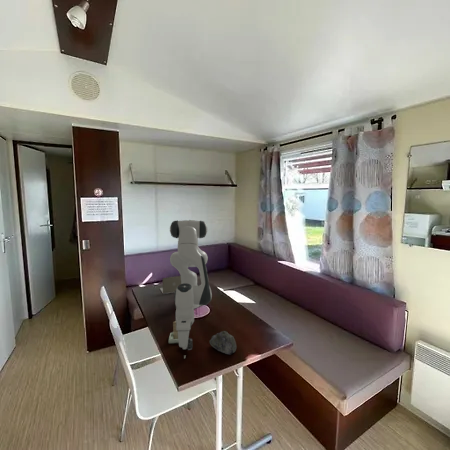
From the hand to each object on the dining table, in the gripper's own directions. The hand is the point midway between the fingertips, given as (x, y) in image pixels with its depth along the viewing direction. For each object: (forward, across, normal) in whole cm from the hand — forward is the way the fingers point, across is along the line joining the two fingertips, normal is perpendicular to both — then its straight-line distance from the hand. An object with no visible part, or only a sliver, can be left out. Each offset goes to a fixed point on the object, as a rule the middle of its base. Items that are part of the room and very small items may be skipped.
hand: (185, 344), depth 125 cm
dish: (+5, -13, -6) cm, 15 cm away
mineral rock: (+5, -3, +19) cm, 20 cm away
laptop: (+5, -87, -18) cm, 89 cm away
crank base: (+5, -3, 0) cm, 6 cm away
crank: (+3, -4, +1) cm, 5 cm away
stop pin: (+4, -13, -6) cm, 15 cm away
